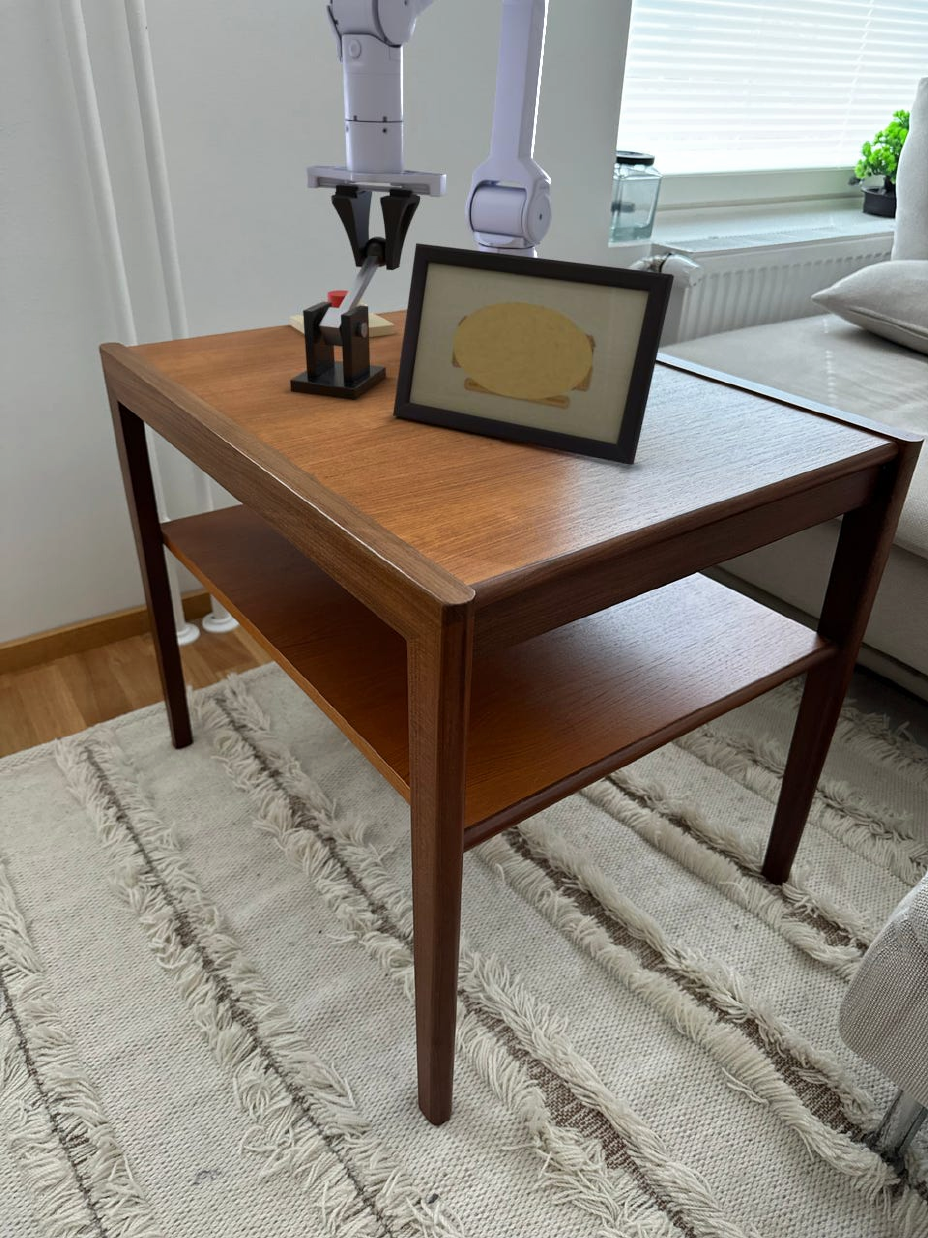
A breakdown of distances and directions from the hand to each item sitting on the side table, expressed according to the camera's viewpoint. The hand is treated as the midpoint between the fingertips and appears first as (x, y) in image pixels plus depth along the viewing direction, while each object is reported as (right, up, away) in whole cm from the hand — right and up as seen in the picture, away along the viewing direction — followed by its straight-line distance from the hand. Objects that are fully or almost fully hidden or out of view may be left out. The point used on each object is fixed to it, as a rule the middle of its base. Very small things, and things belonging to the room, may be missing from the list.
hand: (377, 266), depth 95 cm
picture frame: (+15, -20, -13) cm, 28 cm away
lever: (-1, -4, -2) cm, 5 cm away
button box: (-6, -2, +15) cm, 16 cm away
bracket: (-4, -13, -3) cm, 14 cm away
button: (-6, 0, +14) cm, 15 cm away
